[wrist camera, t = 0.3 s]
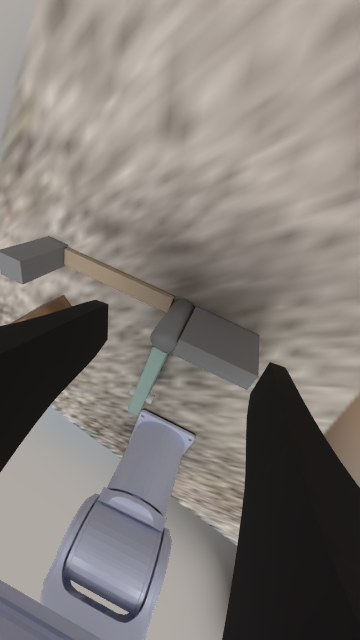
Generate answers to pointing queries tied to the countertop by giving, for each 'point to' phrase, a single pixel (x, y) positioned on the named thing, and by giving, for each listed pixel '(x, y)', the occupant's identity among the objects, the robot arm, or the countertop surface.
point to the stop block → (47, 308)
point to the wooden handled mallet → (180, 319)
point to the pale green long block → (147, 381)
